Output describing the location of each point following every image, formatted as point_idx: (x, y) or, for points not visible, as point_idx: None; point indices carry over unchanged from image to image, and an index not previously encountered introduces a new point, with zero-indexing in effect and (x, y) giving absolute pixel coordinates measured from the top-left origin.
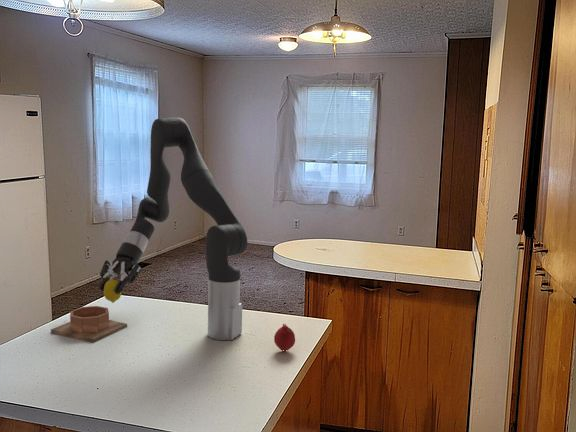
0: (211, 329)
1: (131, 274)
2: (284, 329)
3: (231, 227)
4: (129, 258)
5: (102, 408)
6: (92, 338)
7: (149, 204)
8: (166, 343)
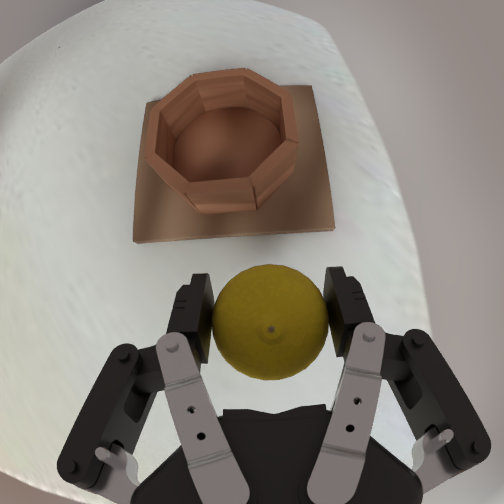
0: None
1: (97, 387)
2: None
3: None
4: None
5: (42, 40)
6: (151, 102)
7: None
8: (13, 211)
